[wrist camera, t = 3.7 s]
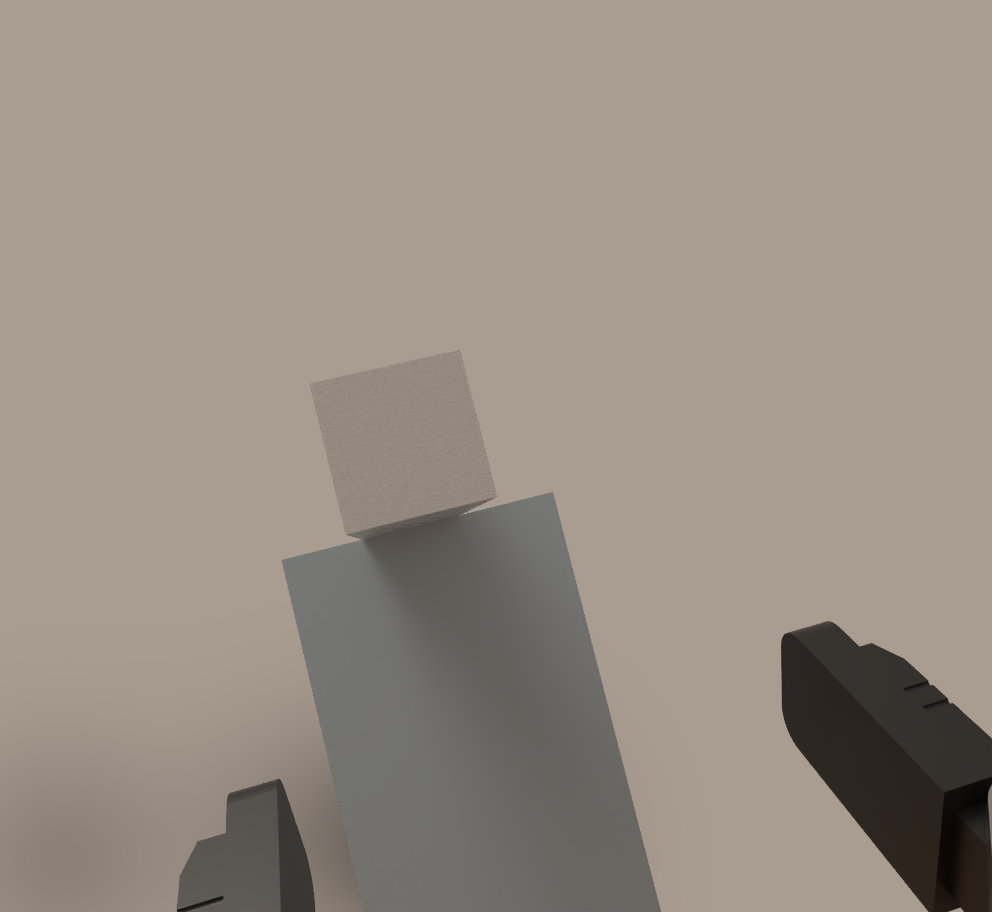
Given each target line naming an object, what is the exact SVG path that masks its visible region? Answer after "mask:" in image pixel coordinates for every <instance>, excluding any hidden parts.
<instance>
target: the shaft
mask: <svg viewBox="0 0 992 912" xmlns="http://www.w3.org/2000/svg"><path fill="white" fill-rule="evenodd" d="M310 387H311V391H312V395H313V399H314V404H315V407H316V412H317V416H318V420H319V424H320V428H321V432H322V437H323V441H324V445H325V449H326V453H327V458H328V462H329V466H330V470H331V474H332V479H333V483H334V487H335V491H336V495H337V499H338V504H339V508H340V512H341V516H342V520H343V524H344V529H345V532H346V535H349V536H353V537H356V538H359V539H362V540H364V539H368V538H372V537H376V536H380V535H384V534H388V533H392V532H396V531H400V530H404V529H408V528H412V527H416V526H420V525H424V524H428V523H432V522H436V521H440V520H444V519H448V518H452V517H456V516H459V515H461V514H463V513H465V512H467V511H469V510H471V509H473V508H475V507H477V506H479V505H481V504H483V503H485V502H487V501H489V500H492V499H494V498H495V497H497V495H496V491H495V487H494V483H493V479H492V476H491V471H490V467H489V463H488V459H487V455H486V451H485V447H484V443H483V440H482V436H481V431H480V428H479V424H478V420H477V416H476V412H475V408H474V404H473V400H472V396H471V392H470V388H469V384H468V381H467V376H466V372H465V368H464V364H463V360H462V357H461V352H460V350H457V351H453V352H449V353H444V354H440V355H435V356H431V357H426V358H422V359H417V360H413V361H408V362H404V363H399V364H395V365H391V366H387V367H382V368H378V369H373V370H368V371H364V372H360V373H355V374H351V375H346V376H342V377H338V378H333V379H329V380H324V381H320V382H315V383H311V384H310Z"/></svg>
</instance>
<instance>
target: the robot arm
mask: <svg viewBox="0 0 992 912" xmlns="http://www.w3.org/2000/svg"><path fill="white" fill-rule="evenodd" d="M781 668H782V711H783V716H784V720H785V724H786V727H787V729H788V731H789V734H790V736H791V738H792V740H793V742H794V743H795V745H796V746H797V748H798V749H799V750H800V751H801V753H802V754H803V755H804V756H805V758H806V759H807V760H808V761H809V763H810V764H811V765H812V766H813V768H814V769H815V770H816V771H817V773H818V774H819V775H820V777H821V778H822V779H823V780H824V781H825V783H826V784H827V785H828V786H829V788H830V789H831V790H832V791H833V793H834V794H835V795H836V797H837V798H838V799H839V800H840V802H841V803H842V804H843V805H844V806H845V808H846V809H847V810H848V812H849V813H850V814H851V815H852V817H853V818H854V819H855V820H856V822H857V823H858V824H859V825H860V826H861V828H862V829H863V830H864V832H865V833H866V834H867V835H868V837H869V838H870V839H871V840H872V842H873V843H874V844H875V845H876V847H877V848H878V849H879V850H880V852H881V853H882V854H883V855H884V857H885V858H886V859H887V860H888V862H889V863H890V864H891V865H892V867H893V868H894V869H895V870H896V872H897V873H898V874H899V875H900V877H901V878H902V879H903V880H904V882H905V883H906V884H907V885H908V887H909V888H910V889H911V890H912V892H913V893H914V894H915V895H916V897H917V898H918V899H919V900H920V902H921V903H922V904H923V905H924V906H925V908H926V909H927V910H928V912H949V911H952V910H954V909H957V908H960V907H961V909H962V910H963V911H964V912H992V738H991V737H990V736H988V735H987V734H986V733H985V732H984V731H983V730H982V729H981V728H980V727H979V726H978V725H976V724H975V723H974V722H973V721H972V720H971V719H970V718H969V717H967V716H966V715H965V714H964V713H963V712H962V711H961V710H960V709H959V708H958V707H957V706H955V705H954V704H953V703H951V704H950V703H949V702H948V698H947V697H946V696H945V695H943V694H942V693H941V692H940V691H939V690H938V689H937V688H936V687H935V686H934V685H931V686H930V684H929V682H928V680H927V679H926V678H925V677H924V676H923V675H921V674H920V673H919V672H918V671H917V670H916V669H915V668H914V667H913V666H912V665H910V664H909V663H908V662H907V661H906V660H905V659H903V658H901V657H899V656H897V655H895V654H893V653H891V652H889V651H887V650H885V649H883V648H880V647H878V646H876V645H874V644H872V643H871V644H867V645H864V646H860V647H859V646H858V645H857V644H856V643H855V642H854V641H853V640H852V639H851V638H850V637H849V636H848V635H847V634H846V633H845V632H844V631H843V630H841V629H840V627H838V626H837V625H836V624H834V623H833V622H829V621H828V622H824V623H821V624H817V625H813V626H810V627H806V628H803V629H800V630H796V631H793V632H789V633H786V634H785V635H784V636H783V638H782V642H781ZM177 912H315V901H314V892H313V883H312V877H311V872H310V867H309V863H308V859H307V855H306V851H305V848H304V845H303V843H302V839H301V837H300V833H299V830H298V828H297V825H296V822H295V819H294V816H293V813H292V810H291V807H290V804H289V801H288V798H287V795H286V792H285V789H284V786H283V784H282V782H281V780H280V779H277V780H273V781H270V782H266V783H263V784H260V785H256V786H253V787H249V788H246V789H242V790H239V791H235V792H232V793H229V795H228V799H227V814H226V833H225V834H221V835H218V836H215V837H211V838H208V839H205V840H201V841H198V842H197V844H196V846H195V848H194V850H193V851H192V853H191V855H190V857H189V859H188V861H187V863H186V865H185V867H184V869H183V871H182V873H181V875H180V882H179V892H178V904H177Z"/></svg>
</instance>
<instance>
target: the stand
mask: <svg viewBox="0 0 992 912" xmlns="http://www.w3.org/2000/svg"><path fill="white" fill-rule="evenodd" d="M282 563H283V567H284V572H285V576H286V581H287V585H288V589H289V593H290V598H291V602H292V606H293V610H294V615H295V619H296V623H297V627H298V631H299V636H300V640H301V644H302V649H303V653H304V657H305V662H306V666H307V670H308V675H309V679H310V683H311V687H312V692H313V696H314V700H315V704H316V708H317V712H318V717H319V721H320V725H321V730H322V734H323V738H324V742H325V747H326V751H327V756H328V760H329V764H330V769H331V773H332V777H333V781H334V785H335V790H336V794H337V798H338V803H339V807H340V811H341V816H342V820H343V824H344V828H345V832H346V837H347V841H348V845H349V850H350V854H351V858H352V862H353V867H354V871H355V874H356V880H357V884H358V888H359V892H360V896H361V901H362V905H363V909H364V912H661V910H660V906H659V902H658V898H657V895H656V891H655V887H654V883H653V879H652V875H651V871H650V867H649V864H648V860H647V856H646V852H645V848H644V844H643V840H642V836H641V832H640V829H639V825H638V821H637V817H636V813H635V809H634V806H633V801H632V797H631V794H630V790H629V786H628V782H627V778H626V774H625V770H624V766H623V763H622V759H621V755H620V751H619V747H618V743H617V739H616V735H615V731H614V728H613V724H612V720H611V716H610V712H609V708H608V704H607V701H606V697H605V693H604V689H603V685H602V681H601V677H600V674H599V669H598V666H597V662H596V658H595V654H594V650H593V646H592V642H591V638H590V634H589V631H588V627H587V623H586V619H585V615H584V611H583V607H582V603H581V599H580V596H579V592H578V588H577V584H576V580H575V576H574V572H573V568H572V565H571V561H570V557H569V553H568V549H567V545H566V541H565V538H564V533H563V530H562V526H561V522H560V518H559V514H558V510H557V506H556V502H555V499H554V495H553V492H551V493H547V494H543V495H540V496H535V497H531V498H527V499H523V500H520V501H515V502H511V503H507V504H503V505H499V506H495V507H491V508H488V509H484V510H479V511H476V512H471V513H467V514H463V515H460V516H456V517H452V518H448V519H444V520H440V521H436V522H432V523H428V524H424V525H420V526H416V527H412V528H408V529H404V530H400V531H396V532H392V533H388V534H384V535H380V536H376V537H372V538H368V539H364V540H360V541H356V542H352V543H348V544H344V545H340V546H336V547H332V548H328V549H324V550H320V551H316V552H313V553H308V554H304V555H300V556H296V557H292V558H288V559H284V560H282Z"/></svg>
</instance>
